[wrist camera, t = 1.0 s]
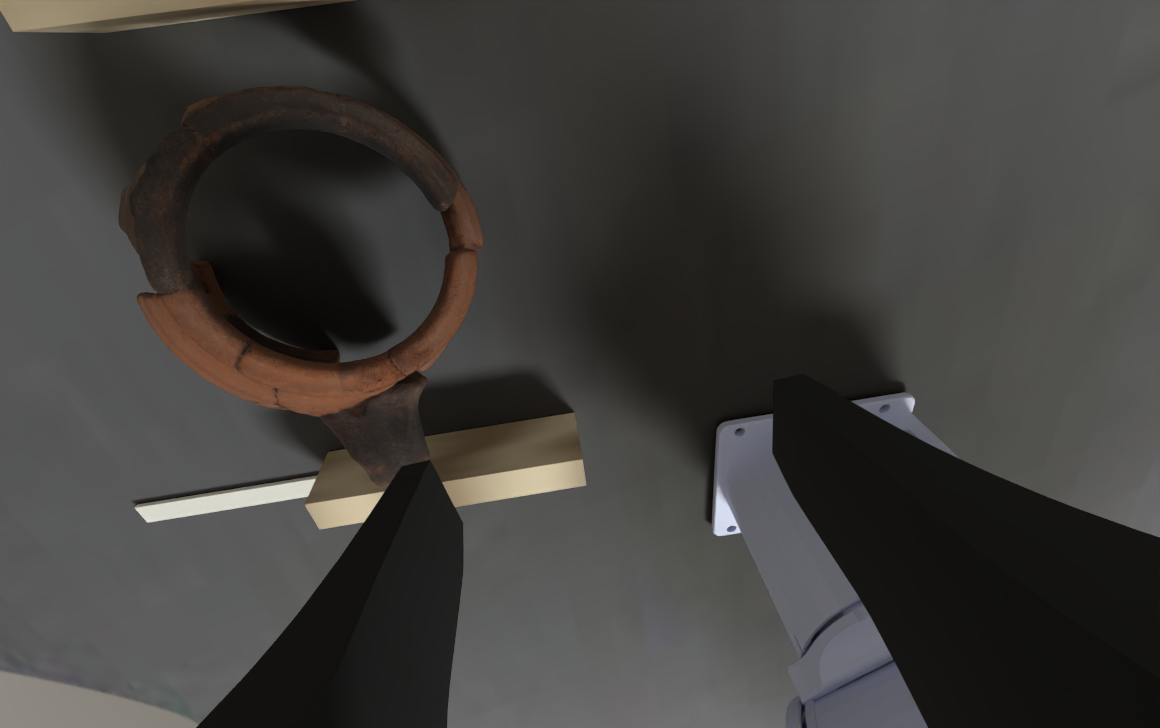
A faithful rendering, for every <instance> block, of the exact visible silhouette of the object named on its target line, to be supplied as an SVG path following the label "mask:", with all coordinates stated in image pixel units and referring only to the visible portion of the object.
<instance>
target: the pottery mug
mask: <svg viewBox="0 0 1160 728" xmlns="http://www.w3.org/2000/svg"><path fill="white" fill-rule="evenodd" d="M292 129H308V130H318V131H324V132H329V133H333V134H338V135H341V136H343V137H346V138H348V139H351V140H353V141H355V142H358V143H361V144H363V145H365V146H367V147H369V148H371V149H373V150H375V151H377V152H378V153H380V154H382V155H383V156H385V157H386V158H388V159H389V160H390V161H392V162H393V163H394V164H396V165H397V166H398V167H399V168H400V169H401V170H402V171H403V172H404V173H405V174H406V175H407V176H408V177H409V178H411V180H412V181H413V182H414V183H415V184H416V185H417V186H418V187H419V188H420V190H421V191H422V192H423V194H424V195H425V197H426V198H427V200H428V201H429V203H430V204H431V205H432V206H433V207H434V208H435V209H436V210H437V211H440V212H441V215H442V217H443V221H444V224H445V227H446V230H447V233H448V237H449V246H450V253H449V254H448V255H447V256H446V258H445V271H444V278H443V283H442V287H441V291H440V294H439V296H438V299H437V301H436V303H435V305H434V307H433V309H432V311H431V312H430V314H429V315H428V317H427V318H426V319H425V321H424V322H423V323H422V324H421V325H420V327H419V328H418V329H417V330H416V331H415V332H414V333H413V334H411V335H410V336H409V337H408V338H407V339H405V340H404V341H402V342H401V343H399V344H397V345H396V346H394V347H392V348H391V349H389V350H388V351H387V352H385V353H383V354H380V355H377V356H374V357H371V358H367V359H362V360H356V361H351V362H343V363H339V362H340V353H339V351H337V350H309V349H301V348H296V347H292V346H289V345H286V344H283V343H280V342H278V341H276V340H273V339H271V338H268V337H266V336H264V335H262V334H260V333H259V332H257V331H256V330H254V329H253V328H251V327H250V326H249V325H248V324H246V323H245V322H244V321H243V320H242V319H241V318H239V317H238V315H237V313H236V312H235V311H234V310H233V308H232V307H231V306H230V304H229V303H228V301H227V299H226V298H225V296H224V294H223V293H222V291H221V289H220V287H219V285H218V283H217V280H216V278H215V275H214V272H213V269H212V266H211V264H210V263H209V262H207V261H190V262H189V260H188V256H187V251H186V244H185V221H186V214H187V209H188V205H189V201H190V198H191V195H192V193H193V190H194V188H195V185H196V183H197V181H198V180H199V178H200V176H201V175H202V174H203V172H204V171H205V170H206V168H207V167H208V165H209V164H210V163H211V161H212V160H214V159H215V158H217V157H218V156H220V155H221V154H222V153H223V152H225V151H226V150H228V149H230V148H231V147H233V146H235V145H236V144H238V143H240V142H242V141H244V140H247V139H249V138H251V137H254V136H257V135H260V134H263V133H268V132H272V131H281V130H292ZM119 226H120V228H121V229H122V230H123V231H124V232H125V233H126V234H127V236H128V238H129V240H130V242H131V244H132V246H133V247H134V248H135V250H136V252H137V253H138V254H139V256H140V260H141V263H142V265H143V268H144V271H145V274H146V276H147V279H148V281H149V283H150V285H151V287H152V288H153V289H154V290H155V291H157V292H158V293H156V294H154V293H148V292H144V293H140V294H138V296H137V301H138V303H139V305H140V307H141V309H142V311H143V313H144V315H145V317H146V319H147V321H148V322H149V324H150V326H151V327H152V329H153V330H154V331H155V332H156V334H157V335H158V336H159V338H160V339H161V340H162V341H163V342H164V344H165V345H166V346H167V347H168V348H169V349H170V350H171V351H172V352H173V353H174V354H175V355H176V356H177V357H178V358H179V359H180V360H181V361H182V362H184V363H185V364H186V365H187V366H188V367H190V368H191V369H192V370H193V371H195V372H196V373H197V374H199V375H200V376H202V377H203V378H205V379H207V380H208V381H210V382H212V383H213V384H215V385H216V386H218V387H220V388H222V389H223V390H225V391H227V392H229V393H231V394H233V395H235V396H238V397H240V398H243V399H245V400H248V401H252V402H254V403H255V404H257V405H260V406H264V407H269V408H278V409H282V410H292V411H294V412H297V413H302V414H307V415H310V416H316V417H319V418H320V420H321V421H322V422H323V423H325V424H326V425H327V426H328V427H329V428H330V429H331V431H332V432H333V433H334V434H335V435H336V437H337V438H338V439H339V440H340V442H341V443H342V445H343V446H344V447H345V449H346V450H347V452H348V453H349V454H350V456H351V457H352V459H353V460H354V461H355V462H356V463H358V464H359V465H360V466H361V467H362V468H363V469H365V471H366V472H367V474H368V475H369V478H370V480H371V481H372V482H374V483H375V484H376V485H377V486H379V487H388V486H389V484H390V483H391V481H392V480H393V478H394V477H395V475H396V474H397V472H398V471H399V470H400V468H401V467H402V466H405V465H409V464H414V463H418V462H422V461H427V460H430V452H429V449H428V446H427V443H426V440H425V436H424V431H423V428H422V424H421V421H420V417H419V412H418V403H419V398H420V395H421V393H422V391H423V389H424V387H425V386H426V383H427V378H426V377H425V376H423V375H422V374H420V373H419V372H417V371H420V372H425V371H426V370H427V369H428V368H429V367H430V366H431V365H432V364H433V363H434V362H435V360H436V359H437V358H438V357H439V356H440V354H441V353H442V351H443V350H444V349H445V347H446V345H447V344H448V342H449V341H450V339H451V338H452V337H453V336H454V334H455V333H456V332H457V330H458V329H459V327H460V325H461V323H462V321H463V319H464V317H465V315H466V313H467V311H468V309H469V305H470V302H471V300H472V298H473V296H474V293H475V284H476V275H477V266H478V253H477V248H480V247H482V245H483V235H482V230H481V226H480V222H479V219H478V216H477V213H476V210H475V208H474V205H473V203H472V200H471V198H470V196H469V194H468V192H467V190H466V189H465V188H464V187H463V186H462V185H461V184H460V182H459V176H458V174H457V172H456V170H455V169H454V168H453V166H452V165H451V164H450V163H449V162H448V161H447V160H446V159H445V158H443V156H442V155H441V154H440V153H438V152H437V151H436V150H435V149H434V148H433V147H432V146H431V145H429V144H428V143H427V142H426V141H425V140H424V139H422V138H421V137H420V136H419V135H418V134H416V133H415V132H414V131H412V130H411V129H409V128H408V127H407V126H406V125H404V124H403V123H401V122H400V121H398V120H397V119H395V118H393V117H392V116H390V115H388V114H386V113H385V112H383V111H381V110H379V109H377V108H375V107H373V106H370V105H368V104H365V103H363V102H361V101H358V100H356V99H354V98H351V97H348V96H345V95H340V94H337V95H334V94H332V93H329V92H323V91H318V90H315V89H311V88H307V87H287V86H275V87H258V88H251V89H245V90H242V91H239V92H235V93H229V94H223V95H219V96H213V97H207V98H205V99H203V100H200V101H198V102H196V103H193V104H191V105H188V107H187V111H186V112H185V113H184V115H183V117H182V122H181V125H180V126H179V127H176V128H174V129H173V130H172V131H171V132H170V133H169V134H168V136H167V137H166V139H165V140H164V141H163V142H162V143H161V145H160V146H159V147H158V150H157V151H156V152H155V153H154V154H153V155H152V156H151V157H150V158H149V159H148V160H147V161H146V163H144V164H143V165H142V166H141V167H140V169H139V170H138V172H137V173H136V176H135V178H134V181H133V183H132V184H130V185H128V186H127V187H126V188H125V189H124V190H123V192H122V194H121V202H120V210H119ZM416 370H417V371H416Z"/></svg>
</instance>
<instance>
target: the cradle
mask: <svg viewBox="0 0 1160 728" xmlns="http://www.w3.org/2000/svg"><path fill="white" fill-rule="evenodd" d="M347 1H355V0H0V11H1V13H2V14H3V16H4V17H5V19H6V21H7V22H8V24H9V26H10V27H11V29H12V30H13V32H68V33H109V32H117V31H125V30H132V29H140V28H148V27H155V26H163V25H171V24H178V23H186V22H194V21H201V20H209V19H217V18H224V17H232V16H240V15H247V14H255V13H263V12H270V11H278V10H286V9H293V8H301V7H309V6H317V5H324V4H332V3H340V2H347ZM425 440H426V443H427V446H428V449H429V452H430V460H431V462H432V464H433V466H434V468H435V470H436V472H437V474H438V475H439V477H440V479H441V481H442V483H443V485H444V487H445V489H446V491H447V493H448V495H449V497H450V499H451V501H452V503H453V505H454V507H458V506H465V505H471V504H477V503H483V502H489V501H495V500H501V499H507V498H513V497H519V496H525V495H531V494H537V493H543V492H549V491H555V490H562V489H568V488H574V487H580V486H586V480H585V473H584V467H583V460H582V454H581V448H580V442H579V436H578V430H577V424H576V418H575V412H574V413H568V414H562V415H556V416H549V417H543V418H537V419H531V420H524V421H518V422H512V423H506V424H499V425H493V426H487V427H480V428H474V429H468V430H462V431H455V432H449V433H443V434H437V435H430V436H425ZM386 489H387V487H379V486H377V485H376V484H375V483H374V482H372V481H371V480H370V478H369V475H368V474H367V472H366V471H365V469H363V468H362V467H361V466H360V465H359V464H358V463H356V462H355V461H354V460H353V459H352V457H351V456H350V454H349V453H348V452H347V450H346V449H343V450H337V451H330V452H328V453H327V455H326V457H325V460H324V462H323V464H322V466H321V469H320V471H319V473H318V475H317V478H316V480H315V482H314V484H313V487H312V489H311V491H310V493H309V496H308V498H307V500H306V502H305V506H306V508H307V509H308V511H309V513H310V514H311V516H312V518H313V519H314V521H315V522H316V524H317V526H318V527H319V529H325V528H331V527H337V526H343V525H349V524H355V523H361V522H365V520H366V519H367V517H368V516H369V514H370V513H371V511H372V510H373V508H374V507H375V505H376V504H377V502H378V501H379V499H380V498H381V496H382V495H383V493H384V492H385V490H386Z"/></svg>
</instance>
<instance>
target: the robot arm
mask: <svg viewBox="0 0 1160 728" xmlns="http://www.w3.org/2000/svg"><path fill="white" fill-rule="evenodd" d="M914 404H915V399H914V398H913V397H912V396H911V395H910V394H909V393H898V394H891V395H885V396H879V397H873V398H867V399H861V400H854V401H850V400H848V399H846V398H845V397H843V396H841V395H839V394H838V393H836V392H834V391H833V390H831V389H829V388H827V387H826V386H824V385H822V384H820V383H819V382H817V381H815V380H813V379H812V378H810V377H808V376H806V375H804V374H800V375H796V376H792V377H787V378H783V379H779V380H774V386H773V414H768V415H762V416H756V417H749V418H743V419H737V420H731V421H726V422H723V423H722V424H720V425H719V426H718V428H717V431H716V450H715V469H714V489H713V508H712V530H713V532H714V534H715V535H718V536H724V535H730V534H735V533H742V536H743V538H744V540H745V542H746V544H747V546H748V548H749V551H750V553H751V555H752V557H753V559H754V561H755V564H756V566H757V568H758V570H759V572H760V574H761V576H762V579H763V581H764V583H765V585H766V587H767V589H768V592H769V594H770V596H771V598H772V600H773V602H774V605H775V607H776V609H777V611H778V613H779V615H780V617H781V620H782V622H783V624H784V626H785V628H786V630H787V633H788V635H789V637H790V639H791V641H792V643H793V646H794V648H795V650H796V652H797V654H798V656H799V658H800V660H798V661H797V662H796V663H794V664H792V665H791V666H789V667H788V669H787V670H788V672H789V674H790V677H791V679H792V681H793V683H794V686H795V688H796V690H797V693H798V695H799V696H798V697H796V698H795V699H793V700H792V701H791V702H790V703H789V705H788V707H787V713H786V728H1160V538H1159V537H1156V536H1153V535H1150V534H1147V533H1144V532H1141V531H1138V530H1135V529H1132V528H1130V527H1127V526H1124V525H1121V524H1119V523H1116V522H1113V521H1110V520H1107V519H1105V518H1102V517H1099V516H1096V515H1094V514H1091V513H1088V512H1085V511H1082V510H1080V509H1077V508H1074V507H1072V506H1069V505H1066V504H1064V503H1061V502H1059V501H1056V500H1053V499H1051V498H1048V497H1046V496H1043V495H1041V494H1038V493H1036V492H1034V491H1031V490H1029V489H1027V488H1024V487H1022V486H1019V485H1017V484H1015V483H1012V482H1010V481H1008V480H1005V479H1003V478H1000V477H998V476H996V475H993V474H991V473H989V472H987V471H984V470H982V469H980V468H978V467H976V466H973V465H971V464H969V463H967V462H965V461H963V460H961V459H960V458H959V457H958V456H956V455H955V454H954V453H953V452H952V451H951V450H950V449H949V448H948V447H947V446H946V445H945V444H944V443H943V442H942V441H941V440H939V439H938V438H937V437H936V436H935V435H934V434H933V433H932V432H931V431H930V430H929V429H928V428H927V427H926V426H925V425H923V424H922V423H921V422H920V421H919V420H918V419H917V418H916V417H915V416H914V415H913V414H912V410H913V407H914ZM739 428H741V429H740V430H738V431H736V430H737V429H739ZM462 577H463V522H462V520H461V518H460V516H459V514H458V513H457V511H456V509H455V507H454V505H453V503H452V501H451V499H450V497H449V495H448V493H447V491H446V489H445V487H444V485H443V483H442V481H441V479H440V477H439V475H438V474H437V472H436V470H435V468H434V466H433V464H432V462H431V460H427V461H422V462H418V463H414V464H409V465H405V466H402V467H401V468H400V470H399V471H398V472H397V474H396V475H395V477H394V478H393V480H392V481H391V483H390V484H389V486H388V487H387V489H386V490H385V492H384V493H383V495H382V496H381V498H380V499H379V501H378V502H377V504H376V505H375V507H374V508H373V510H372V511H371V513H370V514H369V516H368V517H367V519H366V520H365V522H364V523H363V525H362V526H361V528H360V529H359V531H358V532H357V534H356V535H355V537H354V538H353V539H352V541H351V542H350V544H349V545H348V547H347V548H346V550H345V551H344V553H343V554H342V555H341V557H340V558H339V560H338V561H337V562H336V564H335V565H334V566H333V568H332V569H331V570H330V572H329V573H328V574H327V576H326V577H325V578H324V580H323V581H322V582H321V584H320V585H319V586H318V588H317V589H316V590H315V592H314V593H313V594H312V596H311V597H310V598H309V600H308V601H307V603H306V604H305V605H304V607H303V608H302V609H301V610H300V612H299V613H298V614H297V615H296V617H295V618H294V619H293V620H292V622H291V623H290V624H289V625H288V627H287V628H286V629H285V630H284V631H283V633H282V634H281V635H280V636H279V637H278V639H277V640H276V641H275V642H274V643H273V644H272V646H271V647H270V648H269V649H268V650H267V651H266V653H265V654H264V655H263V656H262V657H261V658H260V660H259V661H258V662H257V663H256V664H255V665H254V666H253V668H252V669H251V670H250V671H249V672H248V673H247V674H246V675H245V677H244V678H243V679H242V680H241V681H240V682H239V683H238V684H237V685H236V686H235V687H234V688H233V689H232V690H231V691H230V693H229V694H228V695H227V696H226V697H225V698H224V699H223V700H222V701H221V702H220V703H219V704H218V705H217V706H216V707H215V708H214V709H213V710H212V712H211V713H210V714H209V715H208V716H207V717H206V718H205V719H204V720H203V721H202V722H201V723H200V724H199V725H198V726H197V727H196V728H447V711H448V698H449V686H450V677H451V669H452V661H453V653H454V645H455V637H456V628H457V620H458V612H459V604H460V595H461V586H462Z"/></svg>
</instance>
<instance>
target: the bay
mask: <svg viewBox="0 0 1160 728" xmlns="http://www.w3.org/2000/svg"><path fill="white" fill-rule="evenodd" d="M316 478H317V476H311V477H304V478H298V479H292V480H286V481H280V482H273V483H267V484H261V485H255V486H249V487H242V488H236V489H230V490H224V491H218V492H211V493H205V494H199V495H193V496H187V497H180V498H174V499H168V500H162V501H156V502H149V503H143V504H137V505H136V507H135V509H136V510H137V511H138V512H139V514H140V515H141V516H142V517H143V518H144V519H145V520H146V521H147V522H154V521H161V520H167V519H173V518H179V517H185V516H191V515H197V514H204V513H210V512H216V511H222V510H228V509H234V508H240V507H247V506H253V505H259V504H265V503H271V502H277V501H284V500H290V499H296V498H302V497H308V496H309V493H310V491H311V489H312V487H313V484H314V482H315V480H316Z"/></svg>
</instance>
